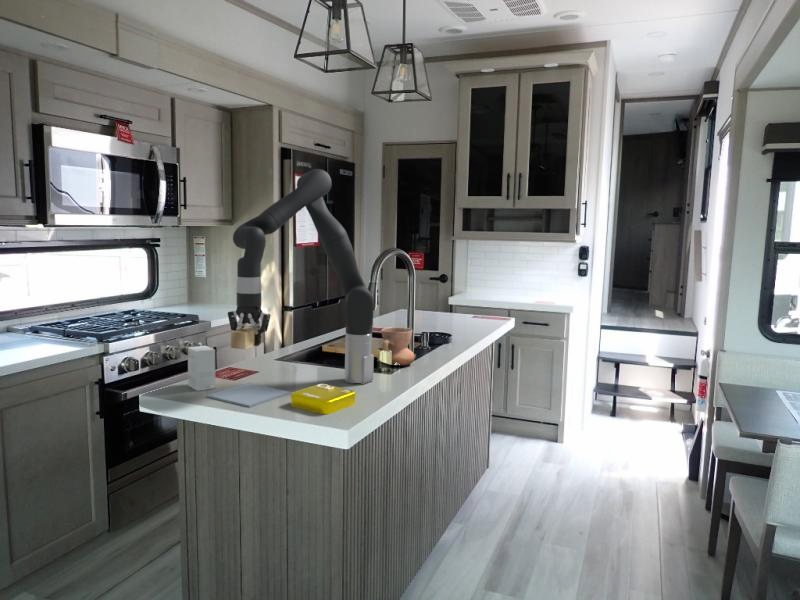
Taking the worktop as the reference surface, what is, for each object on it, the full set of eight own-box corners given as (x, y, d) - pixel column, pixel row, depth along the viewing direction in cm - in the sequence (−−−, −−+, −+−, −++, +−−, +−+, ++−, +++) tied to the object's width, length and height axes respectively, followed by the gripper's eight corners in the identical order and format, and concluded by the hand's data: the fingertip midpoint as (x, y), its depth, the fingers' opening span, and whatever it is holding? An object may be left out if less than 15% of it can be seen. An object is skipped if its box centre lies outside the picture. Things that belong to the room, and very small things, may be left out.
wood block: (230, 331, 179) (250, 325, 191) (230, 347, 180) (250, 340, 191) (245, 333, 178) (264, 326, 189) (245, 349, 178) (264, 342, 190)
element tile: (288, 406, 178) (288, 391, 178) (320, 395, 191) (320, 381, 190) (326, 416, 170) (326, 400, 170) (357, 404, 183) (358, 389, 182)
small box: (215, 388, 194) (215, 349, 192) (196, 391, 190) (196, 351, 188) (206, 382, 200) (206, 345, 198) (187, 385, 196) (187, 347, 194)
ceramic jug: (393, 357, 247) (393, 324, 245) (423, 362, 239) (423, 328, 237) (367, 366, 232) (367, 330, 230) (398, 371, 224) (398, 335, 223)
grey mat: (289, 393, 191) (289, 391, 191) (249, 407, 175) (249, 405, 175) (248, 384, 199) (248, 382, 199) (206, 397, 184) (206, 395, 184)
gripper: (275, 291, 185) (275, 344, 187) (234, 288, 189) (234, 341, 191) (264, 293, 178) (264, 349, 180) (221, 290, 181) (222, 345, 184)
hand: (248, 344), depth 185 cm, fingers closed on wood block, 5 cm apart
